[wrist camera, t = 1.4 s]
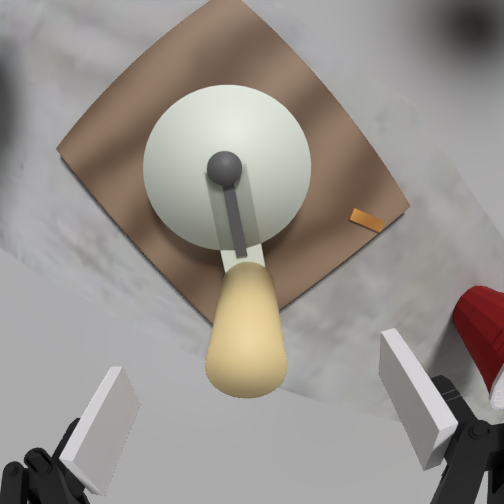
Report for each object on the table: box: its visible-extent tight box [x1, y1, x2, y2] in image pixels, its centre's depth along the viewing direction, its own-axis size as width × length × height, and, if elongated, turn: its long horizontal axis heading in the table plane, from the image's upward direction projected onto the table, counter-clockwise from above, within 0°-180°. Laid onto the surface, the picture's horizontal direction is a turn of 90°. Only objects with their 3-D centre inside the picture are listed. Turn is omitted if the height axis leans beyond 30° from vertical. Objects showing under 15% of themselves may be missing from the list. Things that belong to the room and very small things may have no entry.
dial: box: [143, 85, 311, 398], centre depth 18 cm, size 17×12×12 cm
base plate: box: [56, 0, 410, 324], centre depth 24 cm, size 24×20×1 cm
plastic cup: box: [453, 286, 504, 410], centre depth 23 cm, size 11×11×12 cm
